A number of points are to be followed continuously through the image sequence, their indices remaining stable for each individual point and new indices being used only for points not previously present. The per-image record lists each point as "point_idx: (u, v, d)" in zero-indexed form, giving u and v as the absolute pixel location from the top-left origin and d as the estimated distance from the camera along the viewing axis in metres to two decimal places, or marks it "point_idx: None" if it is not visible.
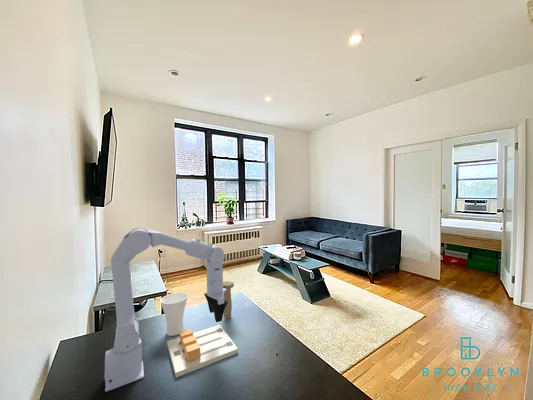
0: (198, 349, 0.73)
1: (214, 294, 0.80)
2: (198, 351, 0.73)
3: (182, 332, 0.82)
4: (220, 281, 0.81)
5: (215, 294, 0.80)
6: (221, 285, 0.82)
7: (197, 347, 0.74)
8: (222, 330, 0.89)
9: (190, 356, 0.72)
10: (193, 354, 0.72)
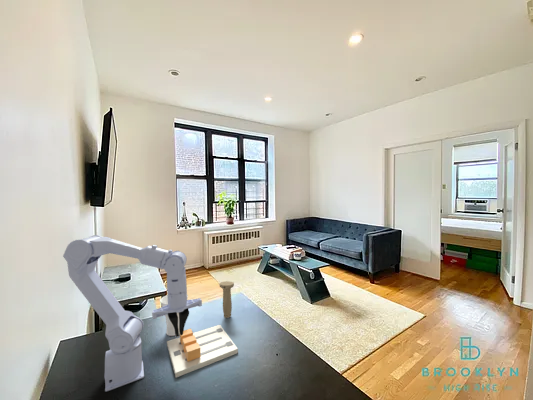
0: (198, 349, 0.73)
1: (167, 306, 0.71)
2: (198, 351, 0.73)
3: None
4: (169, 295, 0.69)
5: (167, 306, 0.71)
6: (170, 301, 0.69)
7: (197, 347, 0.74)
8: (222, 330, 0.89)
9: (190, 356, 0.72)
10: (193, 354, 0.72)
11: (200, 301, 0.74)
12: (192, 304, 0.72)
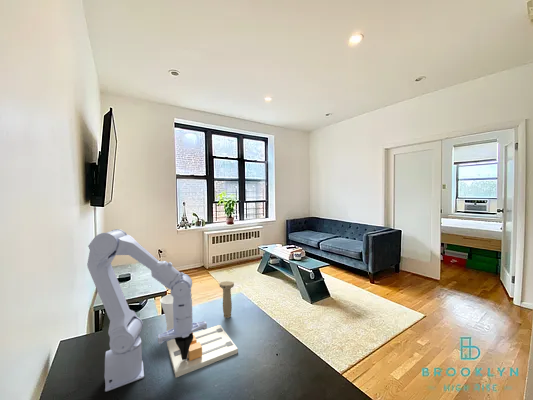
0: (200, 348, 0.74)
1: (173, 329, 0.72)
2: (200, 350, 0.74)
3: None
4: (175, 320, 0.70)
5: (173, 330, 0.72)
6: (176, 325, 0.70)
7: (199, 346, 0.74)
8: (222, 330, 0.89)
9: (192, 355, 0.72)
10: (194, 353, 0.73)
11: (205, 324, 0.75)
12: (197, 328, 0.73)
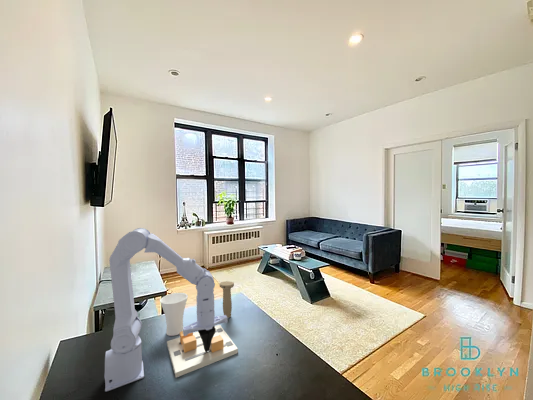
0: (221, 341, 0.77)
1: (196, 323, 0.76)
2: (221, 343, 0.77)
3: (182, 332, 0.82)
4: (199, 313, 0.74)
5: (196, 323, 0.75)
6: (200, 319, 0.74)
7: (220, 339, 0.78)
8: (222, 330, 0.89)
9: (214, 347, 0.76)
10: (216, 345, 0.76)
11: (226, 318, 0.79)
12: (219, 321, 0.77)
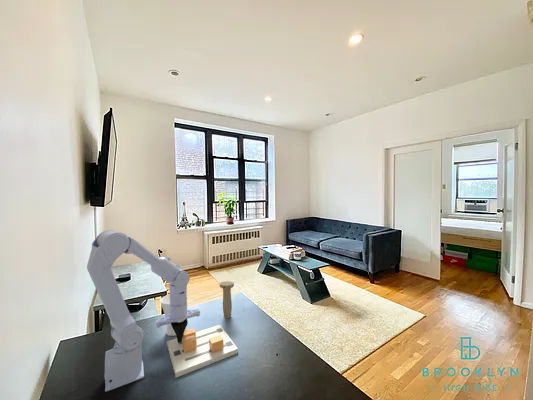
0: (221, 341, 0.77)
1: (169, 316, 0.81)
2: (221, 343, 0.77)
3: (185, 331, 0.83)
4: (171, 307, 0.79)
5: (169, 316, 0.80)
6: (172, 312, 0.79)
7: (220, 339, 0.78)
8: (222, 330, 0.89)
9: (214, 347, 0.76)
10: (217, 345, 0.76)
11: (198, 312, 0.84)
12: (191, 314, 0.82)
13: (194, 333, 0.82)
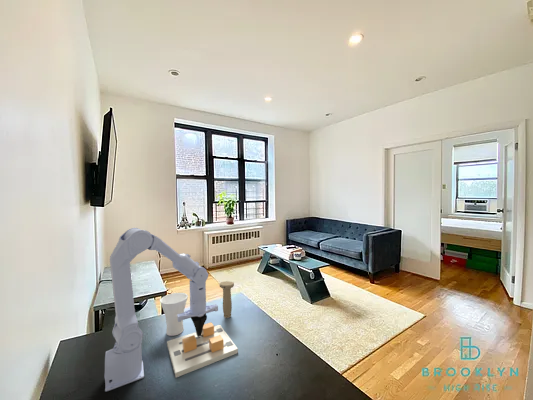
0: (221, 341, 0.77)
1: (189, 310, 0.84)
2: (221, 343, 0.77)
3: (204, 325, 0.86)
4: (191, 302, 0.82)
5: (189, 311, 0.84)
6: (193, 306, 0.82)
7: (220, 339, 0.78)
8: (222, 330, 0.89)
9: (214, 347, 0.76)
10: (217, 345, 0.76)
11: (216, 307, 0.87)
12: (210, 309, 0.85)
13: (213, 327, 0.86)
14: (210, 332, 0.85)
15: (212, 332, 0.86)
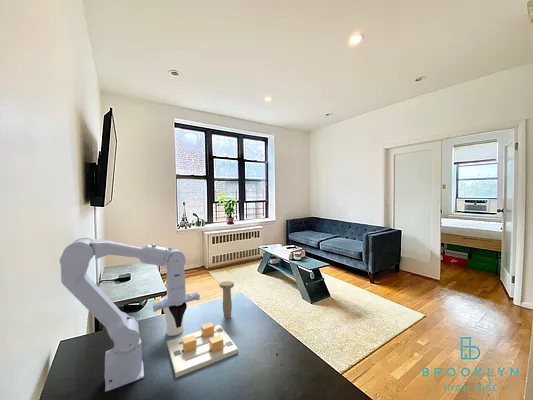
0: (221, 341, 0.77)
1: (167, 299, 0.76)
2: (221, 343, 0.77)
3: (204, 325, 0.86)
4: (168, 290, 0.74)
5: (167, 300, 0.75)
6: (170, 295, 0.74)
7: (220, 339, 0.78)
8: (222, 330, 0.89)
9: (214, 347, 0.76)
10: (217, 345, 0.76)
11: (198, 295, 0.79)
12: (190, 298, 0.77)
13: (213, 327, 0.86)
14: (210, 332, 0.86)
15: (212, 332, 0.86)
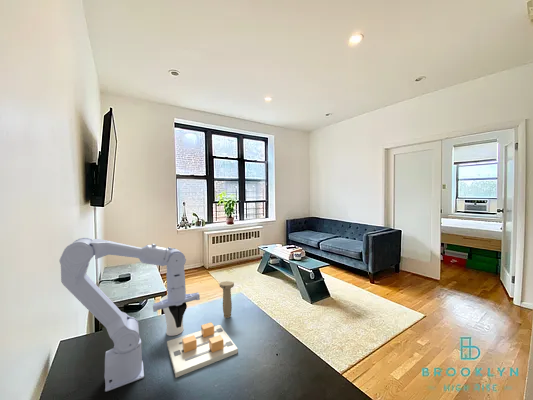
0: (221, 341, 0.77)
1: (167, 299, 0.76)
2: (221, 343, 0.77)
3: (204, 325, 0.86)
4: (168, 290, 0.74)
5: (167, 300, 0.75)
6: (170, 295, 0.74)
7: (220, 339, 0.78)
8: (222, 330, 0.89)
9: (214, 347, 0.76)
10: (217, 345, 0.76)
11: (198, 295, 0.79)
12: (190, 298, 0.77)
13: (213, 327, 0.86)
14: (210, 332, 0.86)
15: (212, 332, 0.86)
